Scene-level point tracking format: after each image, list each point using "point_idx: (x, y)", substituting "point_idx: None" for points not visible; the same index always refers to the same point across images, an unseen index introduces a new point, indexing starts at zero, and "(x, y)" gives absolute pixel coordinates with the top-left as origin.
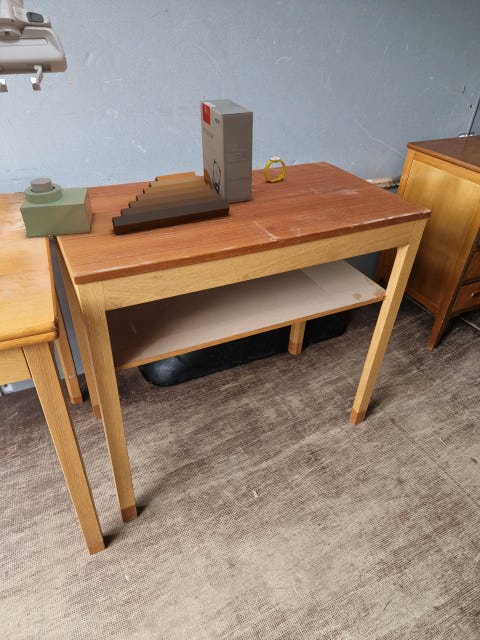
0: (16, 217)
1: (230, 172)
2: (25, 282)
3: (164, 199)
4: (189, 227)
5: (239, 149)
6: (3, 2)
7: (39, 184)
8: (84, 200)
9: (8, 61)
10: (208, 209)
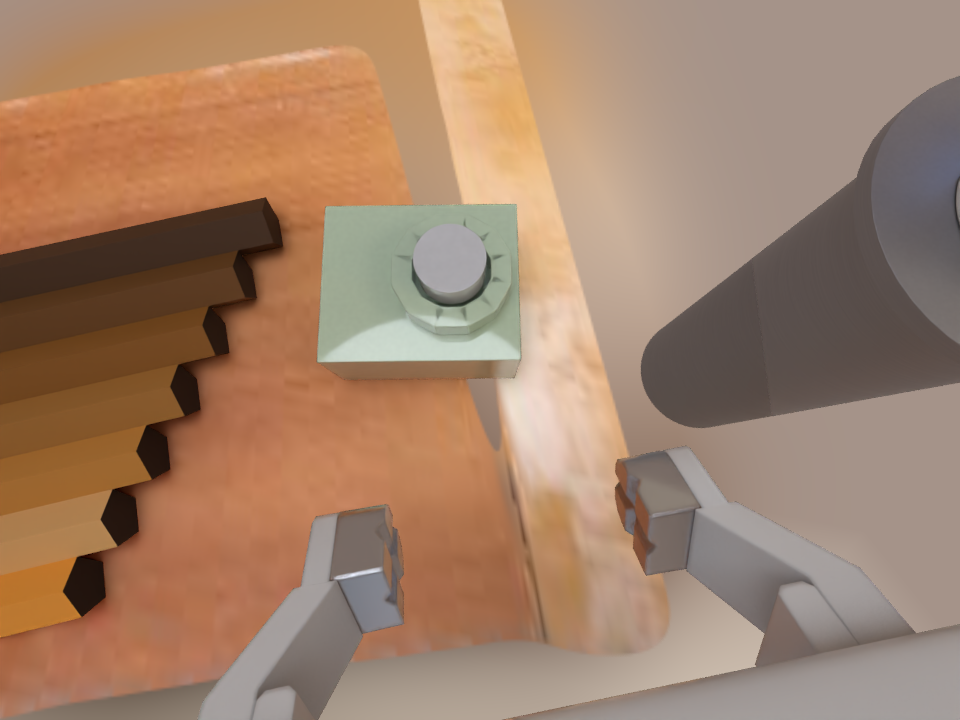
0: (579, 395)
1: None
2: (471, 33)
3: (87, 344)
4: (76, 233)
5: None
6: None
7: (448, 224)
8: (324, 237)
9: (642, 713)
10: None
